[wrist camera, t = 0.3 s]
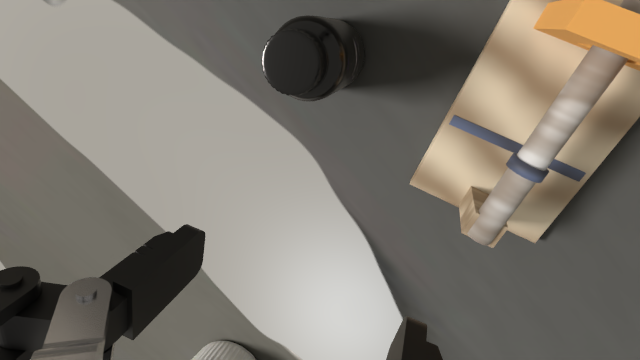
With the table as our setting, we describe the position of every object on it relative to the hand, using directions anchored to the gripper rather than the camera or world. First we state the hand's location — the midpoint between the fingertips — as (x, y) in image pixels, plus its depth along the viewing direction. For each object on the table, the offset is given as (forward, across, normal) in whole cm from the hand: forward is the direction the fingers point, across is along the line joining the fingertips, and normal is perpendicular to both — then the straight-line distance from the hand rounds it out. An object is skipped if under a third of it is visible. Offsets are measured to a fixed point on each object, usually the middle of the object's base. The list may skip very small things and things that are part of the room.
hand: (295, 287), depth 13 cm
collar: (+26, -13, -11) cm, 31 cm away
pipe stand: (+28, -13, -7) cm, 32 cm away
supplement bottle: (+28, +8, -4) cm, 30 cm away
